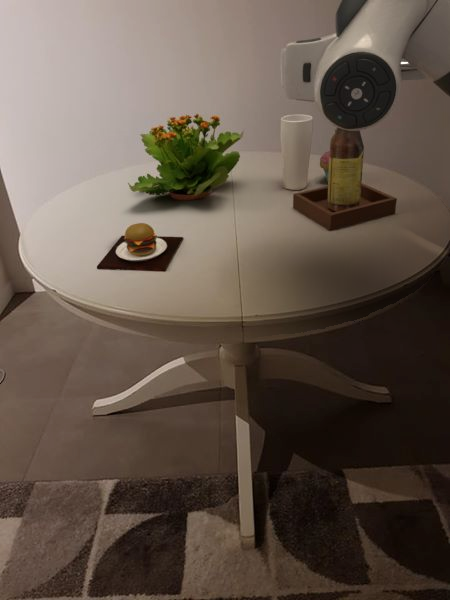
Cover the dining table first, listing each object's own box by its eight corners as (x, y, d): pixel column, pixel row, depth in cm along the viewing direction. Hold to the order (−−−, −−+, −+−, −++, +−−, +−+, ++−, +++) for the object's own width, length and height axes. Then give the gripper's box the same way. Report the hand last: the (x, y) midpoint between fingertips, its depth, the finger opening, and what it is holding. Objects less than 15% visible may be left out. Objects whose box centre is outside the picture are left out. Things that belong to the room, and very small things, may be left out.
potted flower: (155, 175, 119) (144, 102, 110) (247, 173, 116) (245, 97, 107) (129, 214, 98) (113, 128, 89) (241, 212, 96) (237, 123, 86)
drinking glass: (294, 194, 102) (296, 123, 94) (274, 187, 107) (273, 118, 99) (316, 186, 105) (320, 117, 97) (295, 179, 110) (297, 112, 102)
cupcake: (341, 190, 103) (345, 133, 96) (310, 182, 108) (312, 128, 102) (363, 179, 107) (369, 125, 101) (333, 172, 113) (336, 120, 106)
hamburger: (122, 237, 89) (116, 210, 86) (183, 239, 87) (180, 211, 84) (97, 268, 79) (90, 239, 76) (165, 271, 77) (161, 240, 74)
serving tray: (353, 193, 101) (354, 179, 99) (394, 213, 90) (397, 198, 89) (292, 208, 96) (293, 193, 94) (330, 231, 86) (331, 215, 84)
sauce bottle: (365, 211, 91) (377, 101, 80) (337, 216, 89) (345, 106, 79) (347, 200, 96) (356, 96, 85) (320, 205, 95) (325, 100, 84)
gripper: (454, 34, 52) (436, 25, 64) (273, 44, 57) (286, 34, 68) (443, 94, 56) (429, 76, 67) (273, 99, 61) (286, 81, 72)
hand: (356, 55), depth 68 cm, fingers open, 8 cm apart
